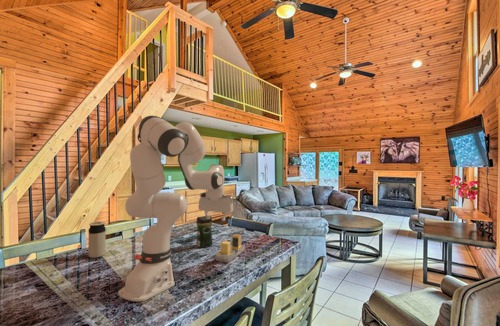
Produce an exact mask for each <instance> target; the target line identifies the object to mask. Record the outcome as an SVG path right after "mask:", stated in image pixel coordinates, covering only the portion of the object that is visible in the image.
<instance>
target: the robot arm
mask: <svg viewBox="0 0 500 326" xmlns="http://www.w3.org/2000/svg"><path fill="white" fill-rule="evenodd" d="M136 137H137V140H138V142H139V143H138V144H137V145H136V144H135V146H133V147H132V148H131V150H130V153H129V159H130V168H131V171H132V175H133V179H134V182H135V187H136V188H135V191H134V192H133V193H132V194H130V195H129V196H128V198H127V199H126V201H125V203H124V204H125V207H124V208H125V212H126V214H127V215H128V216H129V217H132V218H137V219H138V218H139V219H157V221H156V223H155V224H153V225H152V226H151V225H150V227H148V228H146V229H145V230H144V232H143V235H142V250H141V253H140V254H135V256H134V260H138V263H137V264H136V265H135V266H134V268H133V269H132V270H131V271H130V272H129V274H128V275H127V276H126V278H125V284H124V286H123V287H122V288H120V289H119V290H118V296H119V297H120V298H121V299H125V300H128V301H130V302H145V301H147V300H149V299H151V298H153V297H155V296H157V295H159V294H161V293H162V292H164V291H166V290H168V289H170V288H172V287H174V286H175V281H174V275H173V274H174V273H173V266H172V262H171V257H172V247H171V234H172V229H173V226H174V225H175V223H176V221H177V220H178V219H180V218H181V217H183V215H184V214H186V211H187V209H188V200H187V198H186V197H185V196H184V194H183V193H182V194H181V193H177V192H161V190H163V189H164V188H165V185H166V177H165V176H166V175H165V172H164V167H163V162H162V155H164V156H166V157H169V158H175V157H177V161H178V162H177V163H178V166H179V168H180V170H181V172H182V176H183V177H184V178H183V179H184V184H185V186H186V187H187V189H189V190H190V191H194V190H196V191H197V190H203V191H204V192H201V193H200V194H199V197H200V198H199V199H198V210H199V211H203V212H204V214H205V215H204V216H206V219H210V216H211V215H210V214H209V213H210V212H214V213H216V212H217V213H222V217H221V218H220V219H221V221H222V222H225V221H226V217H227V215H228V214H230V213H233V212H234V197H233V196H231V195H230V194H228V195H227V194H225V186H224V184H225V171H224V166H222V165H221V164H210V165H209V168H208V170H195V169H193V166H192V165H194V164H197V163H199V162H200V161H202V160H203V158H204V157H205V155H206V151H207V148H206V144H205V143H204V140H203V138H202V136H201V135H200V132H199V131H198V130H197V129H196V127H195V126H194V125H193V124H192V123H191V122H187V121H183V122H179V123H177V124H176V125H175V126H174V125H173V124H171V122H168V121H167V120H165V119H163V118H161V117H160V116H156V115H148V116H145V117H144V118H142V119H141V121H140V122H139V124H138V133H137V136H136ZM206 190H207V191H206Z"/></svg>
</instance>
